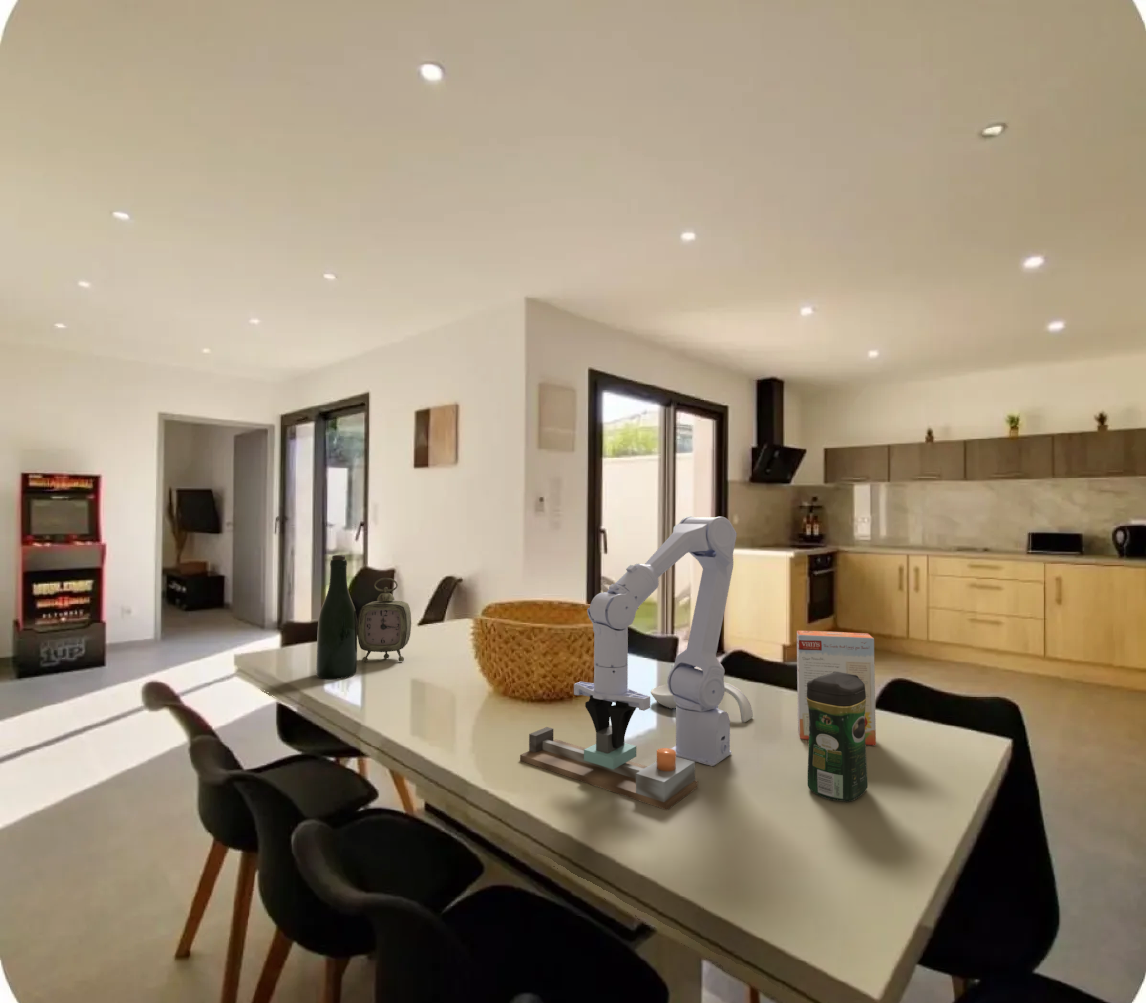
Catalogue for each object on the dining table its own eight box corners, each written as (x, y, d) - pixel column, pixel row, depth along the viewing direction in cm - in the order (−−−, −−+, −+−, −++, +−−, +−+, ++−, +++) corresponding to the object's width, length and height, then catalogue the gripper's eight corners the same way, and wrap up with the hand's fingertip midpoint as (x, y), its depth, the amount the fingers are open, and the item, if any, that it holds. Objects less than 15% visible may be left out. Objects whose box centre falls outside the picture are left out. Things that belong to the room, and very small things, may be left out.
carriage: (636, 756, 106) (636, 728, 106) (613, 769, 100) (613, 739, 100) (607, 748, 109) (607, 721, 110) (583, 760, 104) (584, 731, 104)
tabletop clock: (356, 664, 183) (358, 579, 183) (364, 657, 192) (365, 576, 192) (406, 663, 184) (407, 579, 184) (411, 656, 193) (413, 576, 193)
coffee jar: (825, 774, 105) (825, 665, 106) (874, 790, 100) (873, 674, 100) (798, 791, 99) (798, 675, 99) (848, 809, 93) (848, 685, 94)
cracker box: (870, 736, 124) (869, 632, 125) (876, 747, 118) (875, 637, 119) (796, 729, 128) (796, 628, 129) (799, 739, 122) (798, 633, 123)
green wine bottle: (347, 680, 164) (349, 556, 165) (309, 679, 165) (311, 555, 166) (362, 670, 175) (364, 554, 176) (326, 670, 175) (328, 553, 176)
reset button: (679, 766, 98) (679, 751, 99) (669, 773, 96) (669, 756, 96) (662, 762, 100) (662, 746, 100) (653, 768, 98) (653, 752, 98)
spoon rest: (641, 707, 143) (641, 676, 144) (666, 695, 153) (666, 666, 153) (739, 728, 129) (739, 694, 129) (759, 714, 139) (759, 682, 139)
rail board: (697, 787, 100) (697, 762, 100) (667, 810, 92) (667, 783, 92) (555, 744, 119) (555, 723, 119) (519, 760, 111) (519, 737, 111)
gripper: (563, 661, 107) (562, 741, 106) (634, 675, 98) (633, 762, 97) (587, 654, 112) (587, 730, 112) (657, 667, 103) (656, 749, 103)
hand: (610, 744), depth 105 cm, fingers closed on carriage, 2 cm apart
